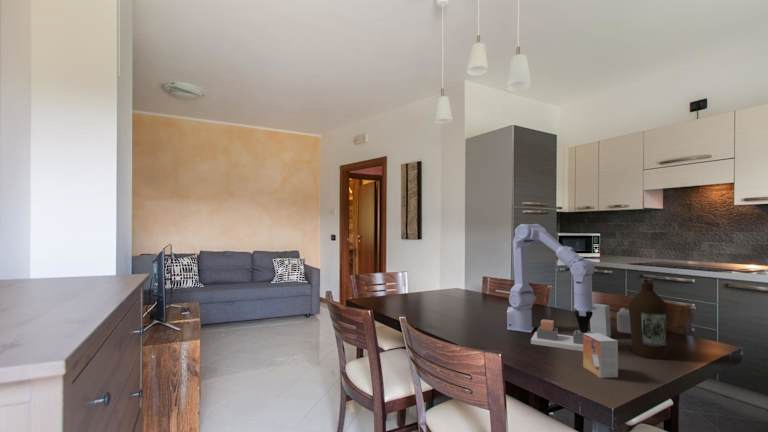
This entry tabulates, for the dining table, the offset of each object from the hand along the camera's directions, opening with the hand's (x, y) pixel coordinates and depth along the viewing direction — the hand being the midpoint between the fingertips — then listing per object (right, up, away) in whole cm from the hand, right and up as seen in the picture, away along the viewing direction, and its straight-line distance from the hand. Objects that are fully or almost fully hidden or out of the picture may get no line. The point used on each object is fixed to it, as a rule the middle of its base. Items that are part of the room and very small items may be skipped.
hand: (583, 332), depth 134 cm
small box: (-8, -5, -23) cm, 25 cm away
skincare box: (+13, -5, +12) cm, 18 cm away
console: (-5, -5, +3) cm, 8 cm away
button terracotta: (-10, -1, +6) cm, 12 cm away
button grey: (0, -3, 0) cm, 3 cm away
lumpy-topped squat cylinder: (+31, -6, +19) cm, 37 cm away
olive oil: (+17, -5, -9) cm, 20 cm away
